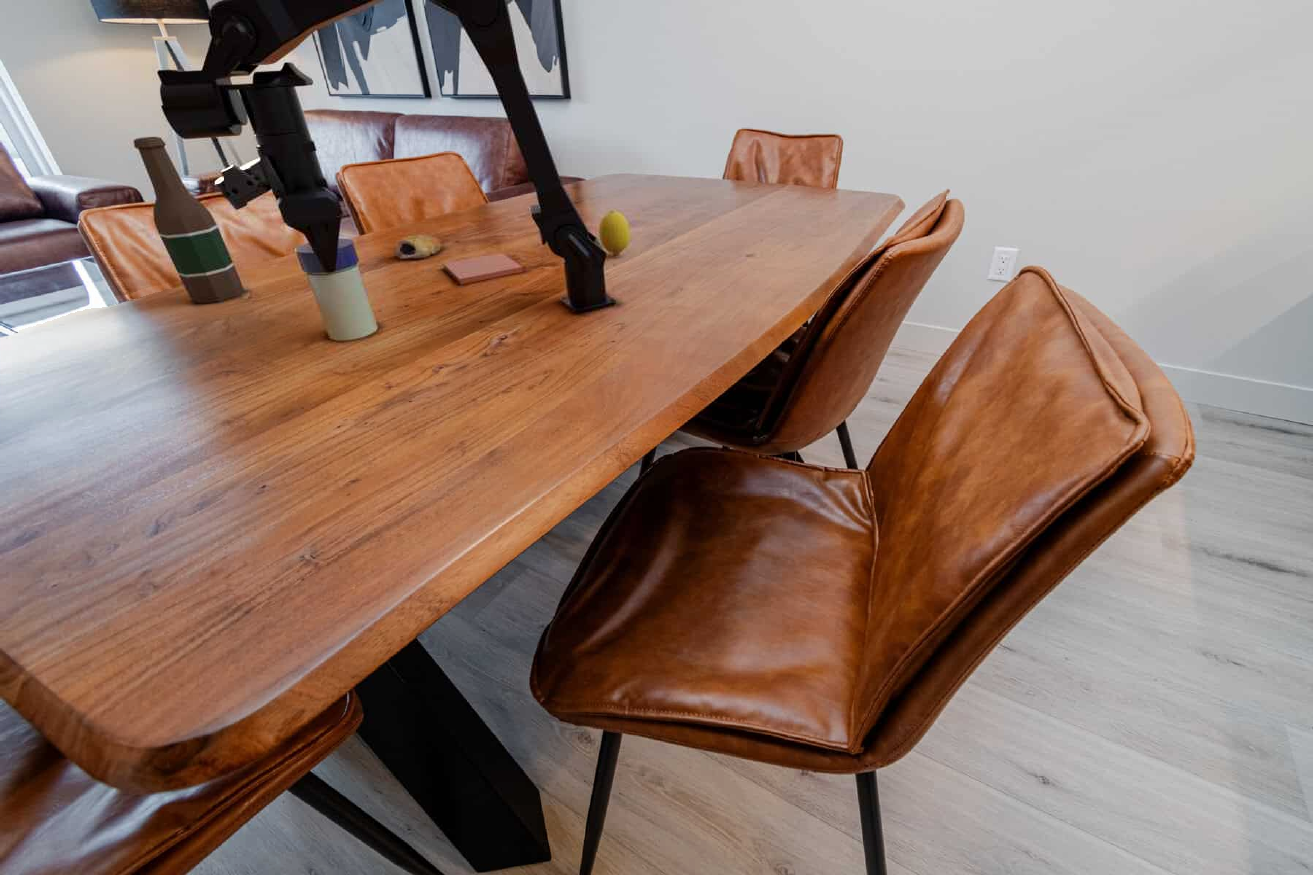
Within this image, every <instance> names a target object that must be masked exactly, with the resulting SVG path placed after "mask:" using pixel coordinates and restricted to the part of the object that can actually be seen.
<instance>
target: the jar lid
mask: <svg viewBox="0 0 1313 875" xmlns="http://www.w3.org/2000/svg"><path fill="white" fill-rule="evenodd" d="M294 251H295V253H296V256H297V259H298V261H299V264H300V267H301V271H303V272H305V273H306V272H308V273H325V272H326V271H325V270H324V268H323V266H322V265H321V263H320V261H319V259H318V258H317V256H316V254H315V252H314V251H313V249H312V247H311V245H310V244H309V242H307V243H303V244H301V245H299V246H297V247H296V248H295V249H294ZM357 263H358V264H359V257H358V254H357V250H356V248H355V245H354V242H353V240H352V239H349V238H340V237H339V241H338V250H337V261H336V271H338V270H342V269H346V268H349V267H351V266H353V265H355V264H357Z"/></svg>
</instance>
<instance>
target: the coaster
mask: <svg viewBox="0 0 1313 875" xmlns="http://www.w3.org/2000/svg"><path fill="white" fill-rule="evenodd" d="M443 269H444V270H445V271H446V272H447V273H448V274H449V275H450V276H451V277H452V278H453V279H454V280H455V281H456V282H457V283H458V284H459V285H467V284H470V283H476V282H481V281H486V280H492V279H495V278H501V277H506V276H510V275H515V274H519V273H523V272H524V270H523V266H522V265H521V264H520V263H518V262H516V261H515V260H513V259H512V258H510V256H507V255H506V254H505V253H503V252H499V253H494V254H489V255H483V256H478V257H472V258H467V259H462V260H455V261H451V262H446V263H443Z"/></svg>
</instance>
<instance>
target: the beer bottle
mask: <svg viewBox="0 0 1313 875" xmlns="http://www.w3.org/2000/svg"><path fill="white" fill-rule="evenodd" d="M166 145H167V143H165V141H164V140H163V139H162V137H159V136H145V137H138V138H134V139H133V147H134V148H135V149H137V150H138V153H139V155H140V157H141V160H142V162H143V164H144V167H145V169H146V172H147V174H148V177H149V180H150V182H151V184H152V187H153V191H154V195H155V202H154V206H153V210H152V213H153V222H154V226H155V227H156V230H157V233H158V235H159V238H160V240H161V241H162V244H163V245H164V248H165V249H166V251H167V254H168V256H169V258H170V260H171V261H172V264H173V266H174V268H175V270H176V273H177V274H178V277H179V278H180V281H181V283H182V284H183V288H184V289H185V290H186V293H187V294H188V296H189V298H190V299H191V300H192V301H193V302H195V303H198V304H201V305H203V304H212V303H220V302H224V301H227V300H231V299H234V298H237V297H239V296H240V295H241V294H242V293H243V292H244V286H243V283H242V280H241V278H240V276H239V274H238V271H237V269H236V266H235V264H234V261H233V259H232V258H231V255H230V252H229V250H228V248H227V245H226V243H225V241H224V239H223V236H222V234H221V232H220V229H219V227H218V224H217V223H216V220H215V219H214V217H213V215H212V213H211V212H210V210H208V208H207V207H206V206H205V205H204V204H203V202H201V201H200V200H198V199H197V198H196V197H194V195H193V194H191V193H190V192H189V190H188V189H187V187H186V186H185V184H184V182H183V180H182V178H181V176H180V174H179V173H178V170H177V169H176V167H175V165H174V163H173V161H172V158H171V157H170V155H169V153H168V151H167V150H166V147H165V146H166Z"/></svg>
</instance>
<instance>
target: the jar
mask: <svg viewBox="0 0 1313 875" xmlns="http://www.w3.org/2000/svg"><path fill="white" fill-rule="evenodd" d="M305 275H306V278H307V281H308V283H309V284H308V285H309V286H310V290H311V291H312V294H313V295H312V296H313V297H314V301H315V302H316V305H317V309H318V311H319V314H320V316H321V320H322V321H323V325H324V327H325V331H326V333H327V335H328V338H329V339H330V340H333V341H339V342H341V341H343V342H344V341H352V340H353V341H354V340H357V339H362V338H365V337H367V336H369V335H371V334H374V333H375V332H376V331H377V330H378V328H379V326H378V324H377V321H376V316H375V313H374V311H373V307H372V304H371V302H370V298H369V295H368V291H367V288H366V285H365V282H364V278H363V276H362V272H361V269H360V266H359V262H358V263H357V264H355V265H353V266H351V267H349V268H346V269H342V270H338V271H335V272H331V273H327V272H325V273H308V272H305Z"/></svg>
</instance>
